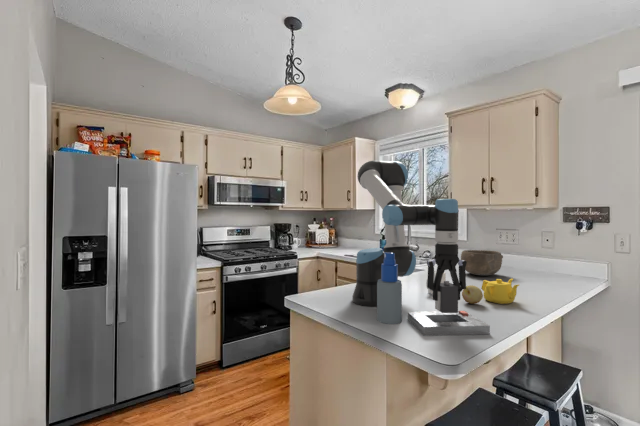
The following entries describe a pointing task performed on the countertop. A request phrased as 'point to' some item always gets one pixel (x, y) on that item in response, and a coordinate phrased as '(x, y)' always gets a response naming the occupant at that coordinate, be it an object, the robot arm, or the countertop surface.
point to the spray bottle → (389, 292)
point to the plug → (448, 297)
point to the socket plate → (448, 323)
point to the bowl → (482, 261)
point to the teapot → (499, 291)
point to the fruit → (472, 294)
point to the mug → (434, 279)
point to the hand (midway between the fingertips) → (446, 309)
